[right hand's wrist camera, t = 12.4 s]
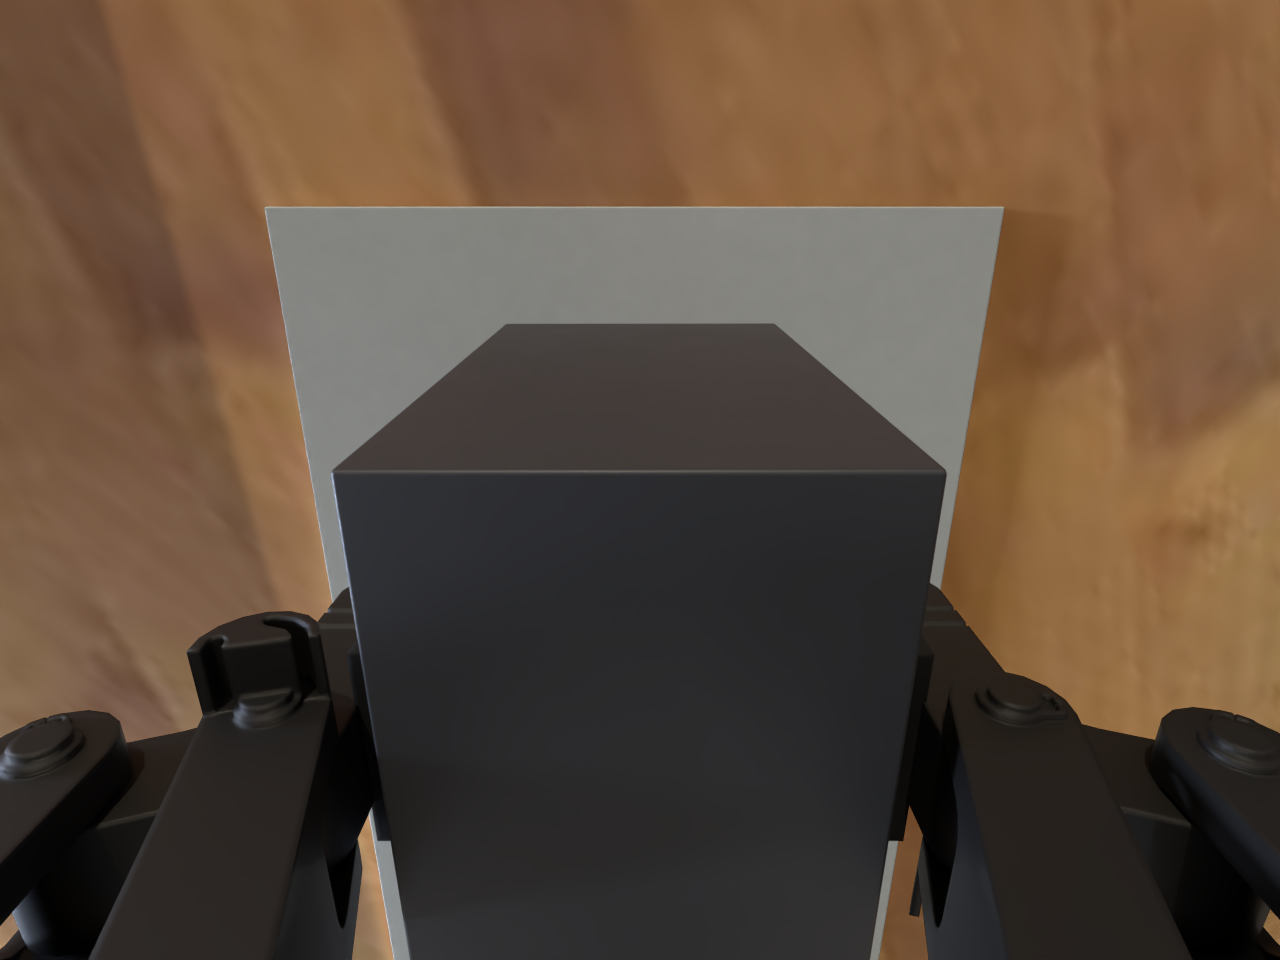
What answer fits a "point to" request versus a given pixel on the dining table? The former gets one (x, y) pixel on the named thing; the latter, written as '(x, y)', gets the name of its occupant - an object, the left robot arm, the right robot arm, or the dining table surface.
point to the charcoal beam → (639, 644)
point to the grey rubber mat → (628, 319)
